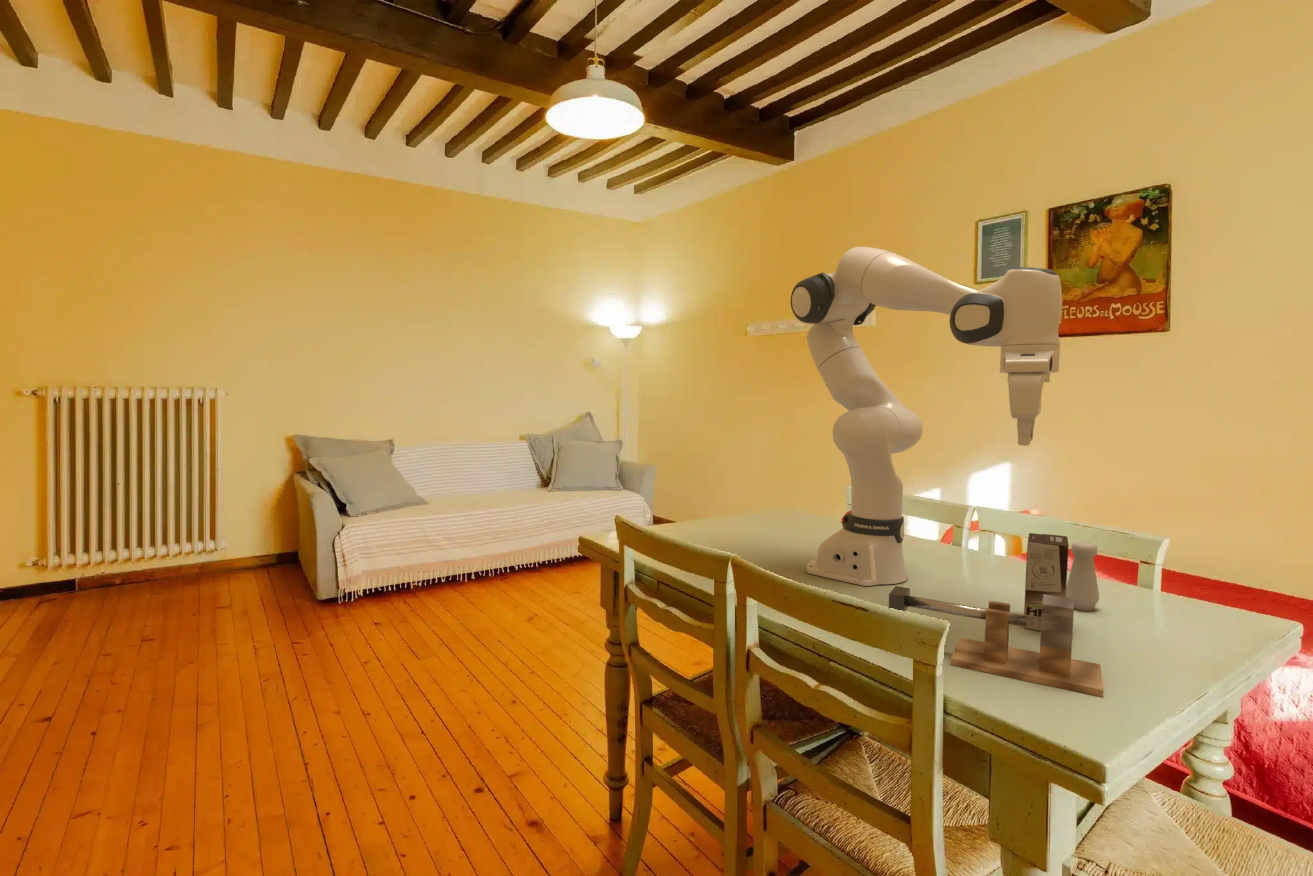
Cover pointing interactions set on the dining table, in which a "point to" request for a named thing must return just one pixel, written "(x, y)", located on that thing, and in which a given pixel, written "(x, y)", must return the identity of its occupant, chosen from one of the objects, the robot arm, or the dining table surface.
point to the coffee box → (1044, 573)
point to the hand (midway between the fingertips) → (1025, 442)
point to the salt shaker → (1083, 577)
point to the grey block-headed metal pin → (944, 606)
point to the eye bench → (1028, 665)
